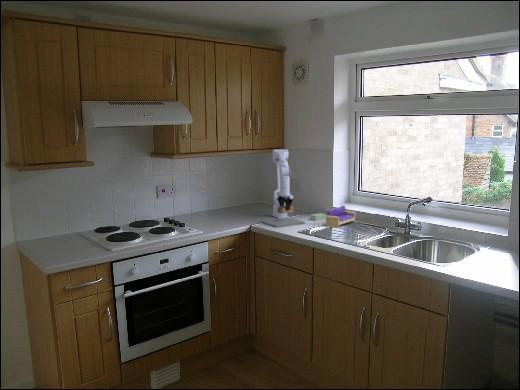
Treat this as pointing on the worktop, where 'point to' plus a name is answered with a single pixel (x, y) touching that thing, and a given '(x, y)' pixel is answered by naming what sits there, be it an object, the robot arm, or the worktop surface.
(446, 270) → the worktop surface
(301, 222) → the baseplate
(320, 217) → the sage block
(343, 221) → the toy sofa
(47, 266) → the worktop surface
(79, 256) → the worktop surface
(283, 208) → the walnut block
